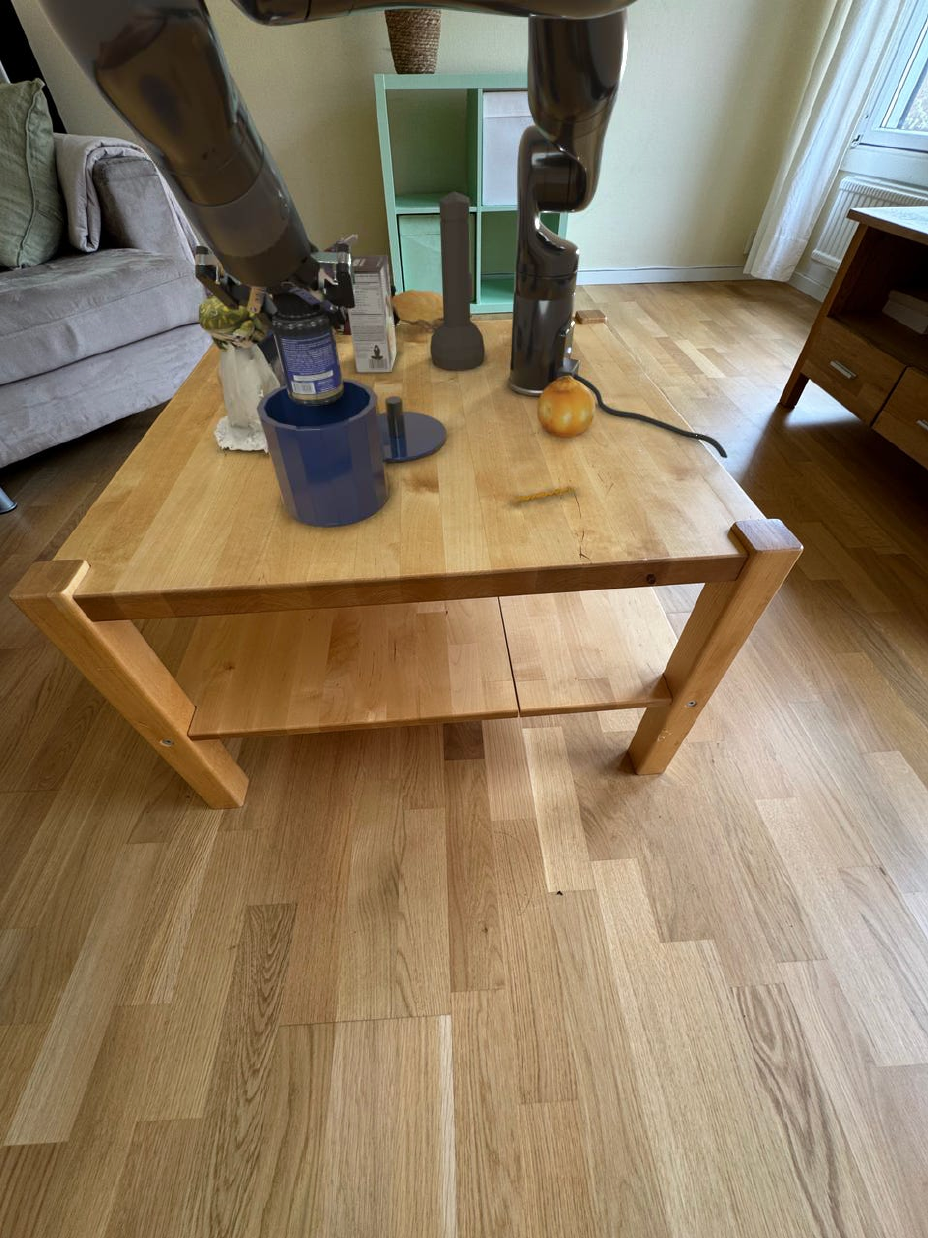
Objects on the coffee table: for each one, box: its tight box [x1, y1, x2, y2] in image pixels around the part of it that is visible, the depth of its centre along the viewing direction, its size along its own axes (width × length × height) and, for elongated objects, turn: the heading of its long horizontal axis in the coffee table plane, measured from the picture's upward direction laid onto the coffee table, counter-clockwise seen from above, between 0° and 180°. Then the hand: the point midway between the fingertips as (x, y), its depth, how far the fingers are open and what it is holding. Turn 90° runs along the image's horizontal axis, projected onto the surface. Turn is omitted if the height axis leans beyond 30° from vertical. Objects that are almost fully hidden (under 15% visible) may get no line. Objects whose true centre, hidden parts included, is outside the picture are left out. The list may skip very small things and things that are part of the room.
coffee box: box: [348, 254, 398, 373], centre depth 98 cm, size 9×6×16 cm
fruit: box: [536, 376, 596, 438], centre depth 82 cm, size 8×8×8 cm
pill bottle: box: [271, 293, 344, 406], centre depth 60 cm, size 6×6×11 cm
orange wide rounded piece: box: [392, 289, 474, 334], centre depth 113 cm, size 17×4×10 cm
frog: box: [197, 295, 280, 454], centre depth 78 cm, size 12×13×18 cm
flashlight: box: [429, 190, 486, 371], centre depth 95 cm, size 10×25×10 cm
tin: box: [257, 377, 389, 528], centre depth 68 cm, size 13×13×12 cm
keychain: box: [514, 486, 573, 503], centre depth 72 cm, size 8×1×1 cm, turn 109°
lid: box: [379, 395, 447, 463], centre depth 81 cm, size 14×14×6 cm
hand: (306, 320), depth 59 cm, fingers closed on pill bottle, 6 cm apart
